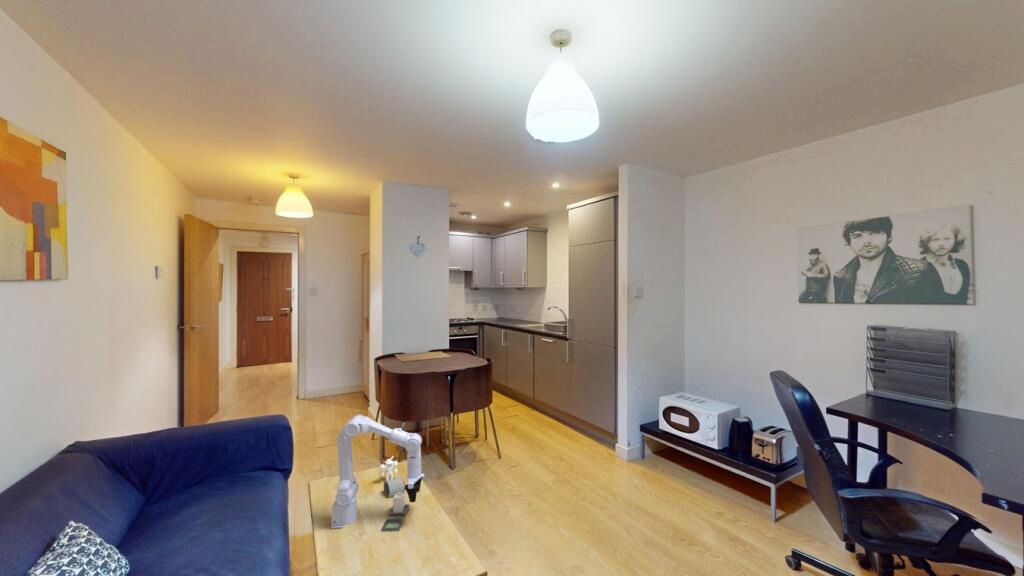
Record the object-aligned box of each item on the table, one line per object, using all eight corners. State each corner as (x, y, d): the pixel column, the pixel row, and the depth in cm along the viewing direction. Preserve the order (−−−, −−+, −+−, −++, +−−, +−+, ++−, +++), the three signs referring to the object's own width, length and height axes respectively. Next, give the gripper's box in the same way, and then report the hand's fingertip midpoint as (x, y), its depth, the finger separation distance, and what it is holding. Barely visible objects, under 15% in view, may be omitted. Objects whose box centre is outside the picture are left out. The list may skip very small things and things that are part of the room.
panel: (378, 535, 157) (378, 530, 157) (391, 508, 175) (391, 504, 174) (401, 534, 157) (401, 529, 157) (411, 508, 175) (411, 503, 175)
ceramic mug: (406, 495, 185) (405, 478, 185) (389, 501, 180) (389, 484, 180) (397, 486, 194) (396, 471, 194) (380, 492, 188) (380, 476, 188)
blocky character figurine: (397, 477, 203) (396, 453, 202) (399, 480, 199) (399, 456, 199) (379, 482, 197) (378, 458, 197) (381, 485, 194) (381, 461, 194)
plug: (393, 514, 169) (392, 497, 168) (395, 508, 173) (395, 491, 172) (402, 513, 169) (402, 496, 169) (404, 508, 173) (404, 491, 173)
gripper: (420, 472, 158) (420, 506, 159) (427, 456, 173) (427, 487, 173) (402, 473, 158) (403, 506, 158) (410, 456, 173) (411, 487, 173)
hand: (414, 496), depth 166 cm, fingers open, 7 cm apart
